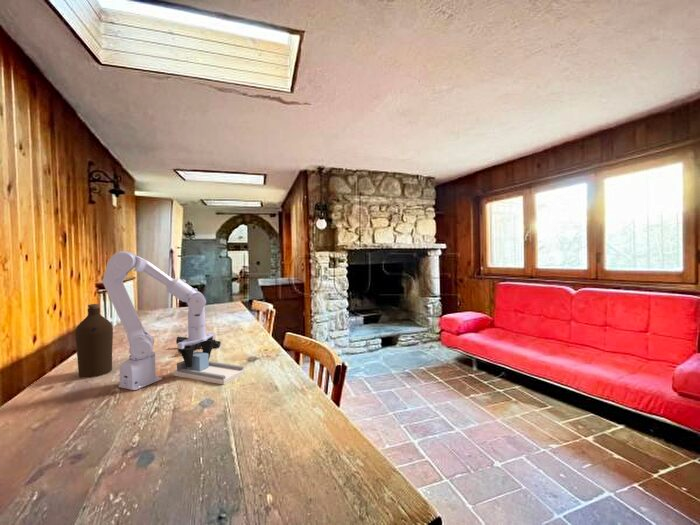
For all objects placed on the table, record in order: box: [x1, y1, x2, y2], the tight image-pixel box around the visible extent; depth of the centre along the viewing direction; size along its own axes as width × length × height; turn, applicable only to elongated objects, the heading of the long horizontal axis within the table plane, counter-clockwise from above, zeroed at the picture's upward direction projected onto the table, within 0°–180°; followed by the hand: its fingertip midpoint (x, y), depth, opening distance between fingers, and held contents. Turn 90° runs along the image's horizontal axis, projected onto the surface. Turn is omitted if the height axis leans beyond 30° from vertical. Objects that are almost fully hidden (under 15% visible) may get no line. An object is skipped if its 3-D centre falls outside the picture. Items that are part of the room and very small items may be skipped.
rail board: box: [172, 360, 246, 385], centre depth 110 cm, size 10×23×4 cm, turn 69°
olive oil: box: [74, 303, 114, 378], centre depth 113 cm, size 11×11×25 cm
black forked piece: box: [175, 336, 222, 353], centre depth 138 cm, size 5×20×15 cm
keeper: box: [187, 351, 210, 371], centre depth 112 cm, size 4×6×5 cm, turn 69°
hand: (197, 363), depth 112 cm, fingers open, 7 cm apart
